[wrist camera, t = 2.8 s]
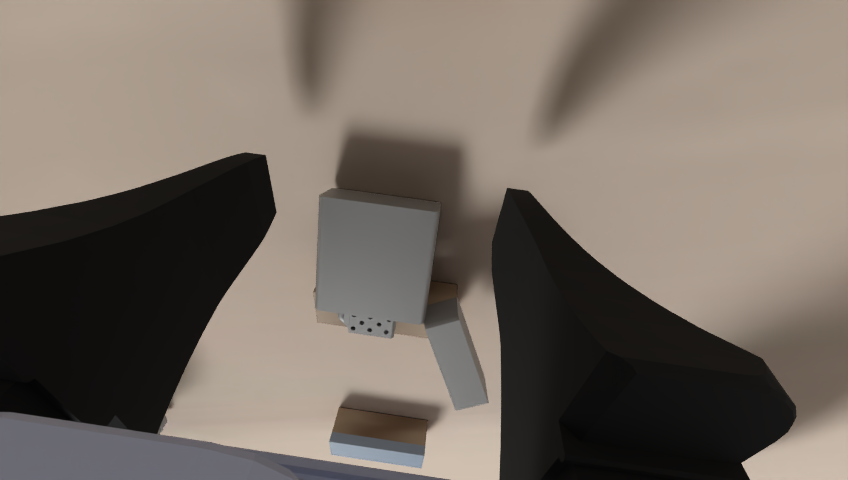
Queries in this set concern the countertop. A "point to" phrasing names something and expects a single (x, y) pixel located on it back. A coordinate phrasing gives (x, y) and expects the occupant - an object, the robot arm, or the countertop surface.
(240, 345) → the countertop surface
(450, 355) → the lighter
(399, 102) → the countertop surface
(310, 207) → the countertop surface
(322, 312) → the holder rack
